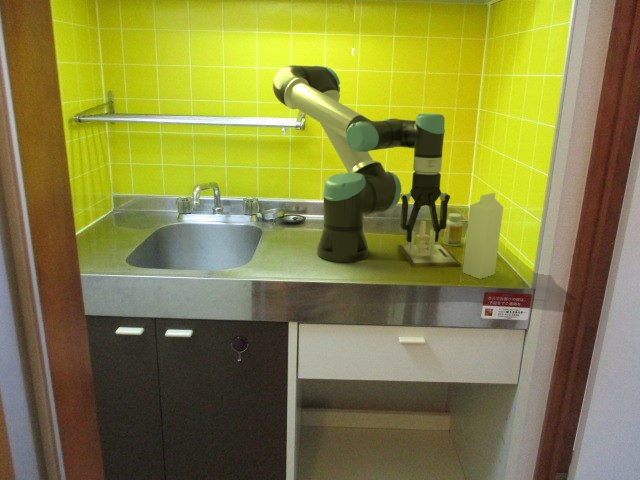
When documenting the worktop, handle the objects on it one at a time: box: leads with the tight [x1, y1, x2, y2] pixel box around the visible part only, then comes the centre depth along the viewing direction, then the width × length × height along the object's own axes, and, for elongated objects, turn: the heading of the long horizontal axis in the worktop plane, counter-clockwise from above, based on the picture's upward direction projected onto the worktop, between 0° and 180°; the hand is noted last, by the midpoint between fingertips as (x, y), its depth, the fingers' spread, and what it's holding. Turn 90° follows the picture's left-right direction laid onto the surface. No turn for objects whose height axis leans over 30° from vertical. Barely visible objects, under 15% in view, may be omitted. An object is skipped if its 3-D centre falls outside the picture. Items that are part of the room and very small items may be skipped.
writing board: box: [397, 243, 462, 268], centre depth 146 cm, size 14×17×1 cm
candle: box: [414, 218, 431, 256], centre depth 141 cm, size 5×5×10 cm
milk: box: [462, 192, 504, 280], centre depth 130 cm, size 6×6×22 cm
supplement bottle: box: [442, 212, 464, 247], centre depth 156 cm, size 5×5×10 cm
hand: (421, 252), depth 142 cm, fingers closed on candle, 5 cm apart
